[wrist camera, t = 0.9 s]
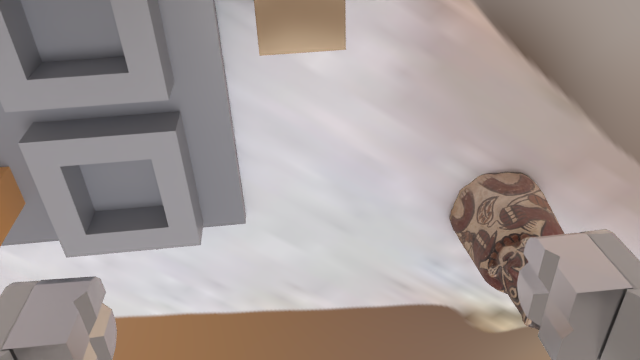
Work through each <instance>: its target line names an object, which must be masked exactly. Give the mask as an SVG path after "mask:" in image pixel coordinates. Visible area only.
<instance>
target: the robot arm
mask: <svg viewBox="0 0 640 360" xmlns="http://www.w3.org/2000/svg"><path fill="white" fill-rule="evenodd" d="M523 254H524V255H525V257H526V258H527V260H528V263H527V264H526V265H525V266H524V267H523V268H522V269H521V270H520V271H519V276H518V281H517V289H518V298H519V301H520V304H521V307H522V309H523V311H524V313H525V314H526V316H527V318H528V319H530V320H531V321H533V322H535V323H536V324H538V325H539V326H540V330H539V334H538V337H539V339H540V341H541V342H542V344H543V346H544V347H545V349H546V351H547V352H548V354H549V356H550V357H551V359H552V360H640V261H639V260H638V259H637V257H636V256H635V255H634V254H633V253H632V252H631V251H630V250H629V249H628V248H627V247H626V246H625V245H624V244H623V242H622V241H621V240H620V239H619V238H618V237H617V236H616V235H615V234H614V233H613V232H611V231H609V230H607V229H603V230H594V231H585V232H580V233H570V234H560V235H550V236H539V237H530V238H529V240H528V241H527V243H526V245H525V249H524V253H523ZM105 293H106V291H105V289H104V286H103V284H102V281H101V279H100V278H98V277H81V278H66V279H52V280H41V281H30V282H15V283H11V284H10V285H8V286H7V287H6V288H5V289H4V291H3V292H2V294H1V296H0V360H112V359H113V355H114V350H115V347H116V331H117V330H116V323H115V318H114V315H113V311H112V309H110V308H109V307H108V306H106V305H105V304H103V303H102V302H103V299H104V296H105Z"/></svg>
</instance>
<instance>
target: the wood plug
mask: <svg viewBox="0 0 640 360" xmlns="http://www.w3.org/2000/svg"><path fill="white" fill-rule="evenodd" d="M254 6H255V16H256V25H257V35H258V45H259V54H260V56H261V55H276V54H290V53H304V52H318V51H333V50H346V38H345V0H254Z"/></svg>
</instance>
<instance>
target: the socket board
mask: <svg viewBox="0 0 640 360" xmlns="http://www.w3.org/2000/svg"><path fill="white" fill-rule="evenodd" d="M235 224H246V213H245V206H244V199H243V193H242V186H241V179H240V172H239V165H238V158H237V152H236V145H235V138H234V131H233V124H232V117H231V110H230V104H229V97H228V90H227V83H226V76H225V69H224V63H223V56H222V49H221V42H220V35H219V28H218V22H217V15H216V8H215V1H214V0H0V246H4V245H15V244H26V243H37V242H48V241H60V244H61V246H62V248H63V251H64V253H65V255H66V257H77V256H88V255H98V254H109V253H120V252H131V251H141V250H152V249H163V248H173V247H184V246H195V245H201V238H202V230H203V227H213V226H224V225H235Z"/></svg>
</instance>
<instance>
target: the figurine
mask: <svg viewBox="0 0 640 360" xmlns="http://www.w3.org/2000/svg"><path fill="white" fill-rule="evenodd" d="M450 220H451V224H452V227H453V229H454V231H455V232H456V234H457V236H458V238H459V240H460V241H461V243H462V244H463V246H464V248H465V249H466V251H467V252H468V254H469V255H470V257H471V259H472V260H473V262H474V264H475V265H476V267H477V268H478V270H479V272H480V273H481V275H482V277H483V278H484V279H485V281H486V282H487V283H488V284H489V285H491V286H492V287H494V288H495V289H497V290H499V291H501V292H504V293H506V294H508V295H509V297H510V298H511V300H512V302H513V303H514V304H515V306H516V307H517V309H518V310H519V312H520V313H521V315H522V319H523V322H524V324H525V325H527V326H529V327H532V328H536V329H538V330H540V326H539V325H538V324H536V323H535V322H533V321H531V320H530V319H528V318H527V316H526V314H525V313H524V311H523V309H522V307H521V304H520V301H519V298H518V289H517V281H518V276H519V271H520V270H521V269H522V268H523V267H524V266H525V265H526V264H527V263H528V260H527V258H526V257H525V255H524V254H523V253H524V249H525V245H526V243H527V241H528V240H529V238H530V237H539V236H550V235H560V234H564V232H563V230H562V229H561V227H560V225H559V223H558V221H557V219H556V217H555V215H554V213H553V212H552V210H551V207H550V206H549V204H548V202H547V200H546V198H545V196H544V194H543V193H542V191H541V190H540V188H539V187H538V186H537V185H536V184H535V183H534V182H533V181H532V180H531V179H530V178H529V177H528V176H526V175H524V174H522V173H517V174H516V173H509V172H506V173H498V174H484V175H480V176H479V177H477V178H476V179H475V180H474V181H472V182H471V183H470V184H468V185H466V186H465V187H464V188H462V189H461V190H460V192H459V194H458V197H457V199H456V201H455V203H454V206H453V209H452V211H451V215H450Z"/></svg>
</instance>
